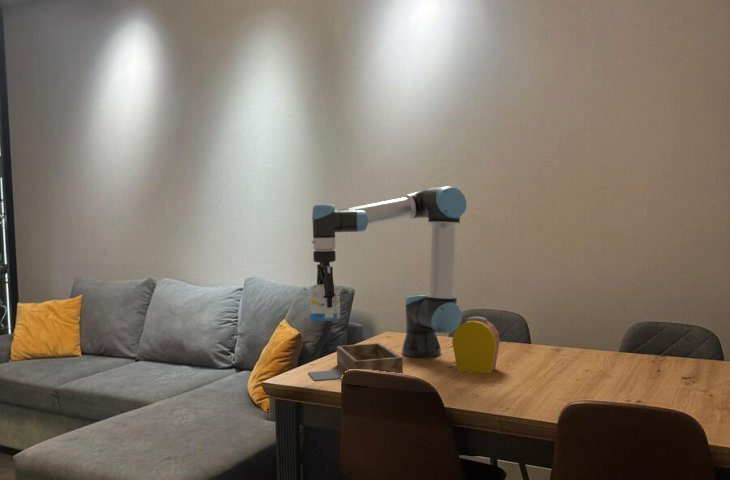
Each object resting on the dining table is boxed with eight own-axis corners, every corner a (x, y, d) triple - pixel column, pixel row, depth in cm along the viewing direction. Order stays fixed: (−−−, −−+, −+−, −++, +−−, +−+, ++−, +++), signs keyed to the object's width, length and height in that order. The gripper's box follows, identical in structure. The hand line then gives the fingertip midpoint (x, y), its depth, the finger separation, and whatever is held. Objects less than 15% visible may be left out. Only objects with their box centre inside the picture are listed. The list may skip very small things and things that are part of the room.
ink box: (335, 321, 214) (334, 286, 214) (310, 321, 216) (309, 286, 215) (340, 317, 223) (340, 283, 222) (317, 317, 224) (316, 283, 224)
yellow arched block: (500, 368, 226) (500, 316, 225) (495, 374, 218) (494, 320, 217) (459, 365, 232) (458, 314, 231) (452, 370, 224) (451, 318, 224)
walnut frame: (380, 361, 240) (379, 342, 240) (402, 378, 214) (402, 357, 214) (337, 365, 236) (336, 346, 235) (355, 382, 210) (354, 361, 210)
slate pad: (339, 370, 227) (339, 369, 227) (346, 378, 216) (346, 377, 216) (308, 373, 224) (308, 372, 224) (314, 381, 213) (314, 379, 213)
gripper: (307, 249, 229) (308, 310, 230) (320, 252, 206) (321, 320, 207) (327, 248, 231) (329, 309, 232) (343, 251, 208) (344, 319, 209)
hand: (325, 314), depth 219 cm, fingers closed on ink box, 11 cm apart
